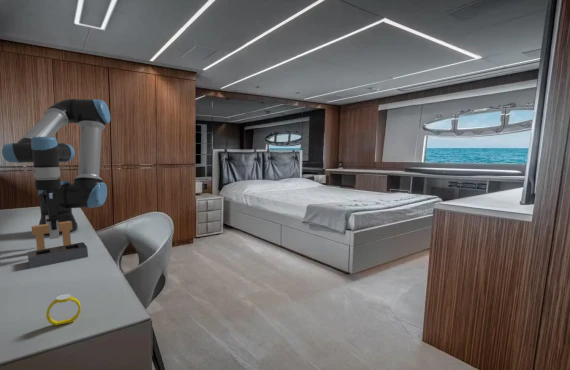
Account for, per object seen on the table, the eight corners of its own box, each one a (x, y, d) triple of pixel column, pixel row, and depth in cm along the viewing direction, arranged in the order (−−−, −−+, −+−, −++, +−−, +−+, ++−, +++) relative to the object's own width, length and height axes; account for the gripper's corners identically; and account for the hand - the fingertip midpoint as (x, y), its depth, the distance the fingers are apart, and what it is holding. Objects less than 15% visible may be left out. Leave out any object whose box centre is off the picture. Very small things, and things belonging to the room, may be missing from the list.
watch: (47, 330, 64) (44, 303, 63) (48, 324, 66) (45, 297, 66) (81, 321, 67) (79, 295, 66) (81, 315, 69) (79, 290, 69)
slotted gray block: (29, 268, 98) (28, 258, 97) (28, 261, 104) (27, 251, 103) (88, 256, 108) (87, 247, 108) (84, 251, 114) (83, 242, 114)
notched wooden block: (34, 254, 111) (31, 227, 110) (34, 252, 113) (31, 226, 112) (74, 247, 119) (71, 222, 118) (73, 245, 121) (70, 220, 120)
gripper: (32, 177, 120) (38, 230, 122) (36, 181, 101) (42, 243, 104) (56, 176, 125) (61, 227, 127) (64, 180, 106) (69, 239, 109)
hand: (52, 234), depth 115 cm, fingers open, 13 cm apart
